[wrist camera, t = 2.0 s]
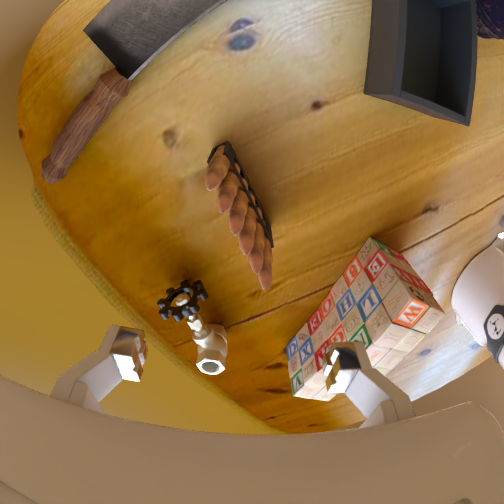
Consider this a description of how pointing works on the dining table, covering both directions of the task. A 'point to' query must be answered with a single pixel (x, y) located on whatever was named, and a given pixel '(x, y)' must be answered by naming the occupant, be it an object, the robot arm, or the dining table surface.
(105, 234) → the dining table surface
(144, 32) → the meat cleaver
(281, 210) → the dining table surface
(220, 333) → the valve
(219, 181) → the ammunition clip
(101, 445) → the robot arm
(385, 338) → the stack of blocks
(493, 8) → the dark blue cylinder
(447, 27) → the bin
